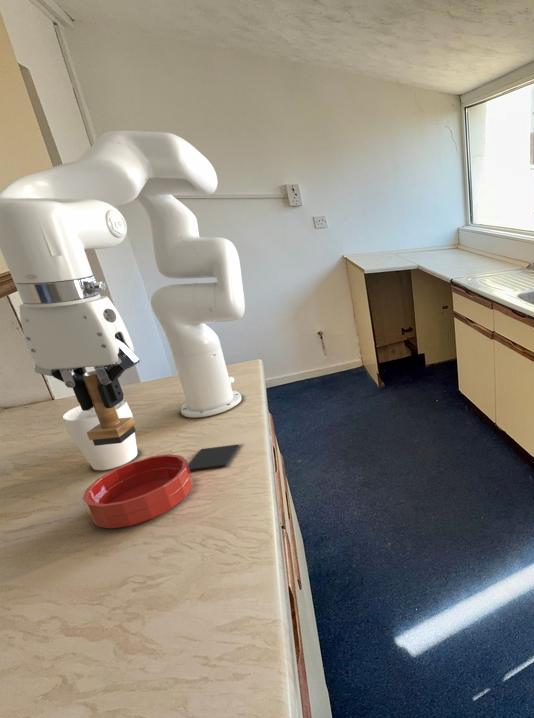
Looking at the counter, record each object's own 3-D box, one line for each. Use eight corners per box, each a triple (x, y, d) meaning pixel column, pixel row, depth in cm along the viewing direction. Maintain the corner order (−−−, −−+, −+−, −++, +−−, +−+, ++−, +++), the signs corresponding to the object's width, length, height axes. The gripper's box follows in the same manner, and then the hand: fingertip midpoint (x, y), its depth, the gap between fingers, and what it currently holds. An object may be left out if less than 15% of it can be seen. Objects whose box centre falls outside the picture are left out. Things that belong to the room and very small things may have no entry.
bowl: (126, 482, 74) (117, 460, 73) (206, 471, 77) (200, 450, 76) (72, 537, 62) (60, 512, 61) (169, 522, 65) (161, 498, 64)
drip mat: (202, 450, 84) (201, 448, 84) (239, 446, 85) (238, 444, 85) (185, 471, 77) (184, 469, 77) (225, 466, 79) (225, 464, 79)
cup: (107, 477, 76) (85, 423, 72) (71, 471, 77) (48, 417, 73) (156, 450, 84) (139, 399, 80) (123, 444, 86) (104, 395, 82)
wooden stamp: (110, 433, 66) (86, 369, 62) (138, 430, 67) (116, 367, 63) (91, 446, 62) (65, 379, 58) (121, 443, 63) (97, 377, 59)
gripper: (143, 283, 62) (175, 389, 68) (14, 288, 58) (61, 399, 64) (109, 294, 55) (149, 411, 61) (-39, 300, 51) (19, 424, 57)
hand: (103, 404), depth 62 cm, fingers closed on wooden stamp, 2 cm apart
